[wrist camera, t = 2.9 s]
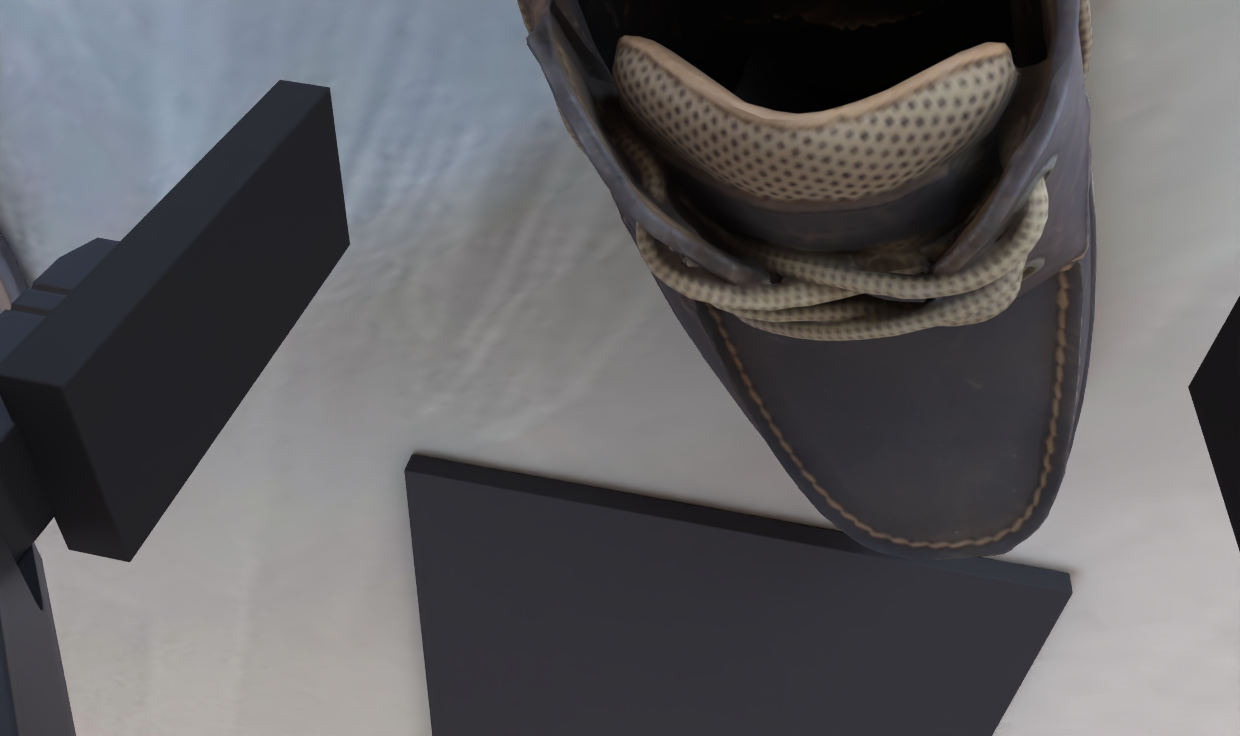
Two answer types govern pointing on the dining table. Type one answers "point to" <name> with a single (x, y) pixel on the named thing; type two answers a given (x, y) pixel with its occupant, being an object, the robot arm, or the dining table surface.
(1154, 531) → the dining table surface
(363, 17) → the dining table surface
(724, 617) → the boot mat
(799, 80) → the boat shoe
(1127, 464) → the dining table surface
